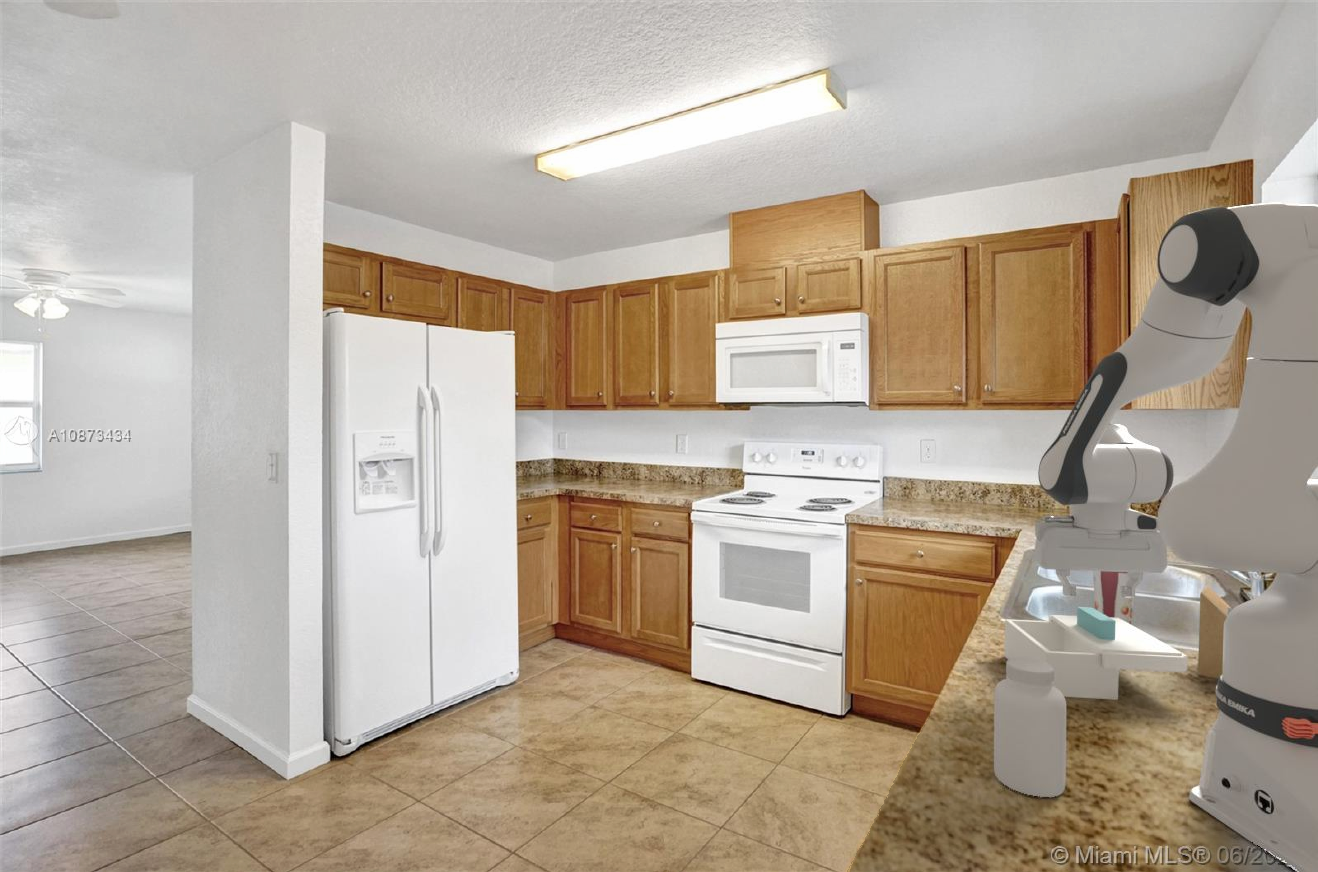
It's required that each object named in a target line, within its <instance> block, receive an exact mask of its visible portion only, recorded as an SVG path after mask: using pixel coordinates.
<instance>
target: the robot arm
mask: <svg viewBox="0 0 1318 872" xmlns="http://www.w3.org/2000/svg"><path fill="white" fill-rule="evenodd" d="M1156 264H1157V270H1158V275H1159V276H1158V278H1157V280H1156V282H1155V284H1154V286H1153V288H1152V290H1151V292H1150V293H1149V296H1148V298H1147V301H1146V303H1145V305H1144V308H1143V310H1142V313H1141V317H1140V318H1139V321H1138V323H1137V325H1136V327H1135V328H1134V330H1133V332H1132V333H1131V334H1130V335H1129V337H1128V338H1127V339H1126V340H1125V342H1123V343H1122V345H1120V346H1119V347H1118V348H1117V349H1116V350H1115V351H1113V352H1111V353H1110V354H1108V355H1107V356H1104V357H1103V358H1102V359H1101V360H1100V361H1099V363H1098V364H1097V365H1096V367H1095V368H1094V369H1093V372H1092V373H1091V374H1090V376H1089V378H1088V379H1087V382H1086V383H1085V385H1084V387H1083V389H1082V391H1081V393H1080V394H1079V396H1078V398H1077V400H1076V401H1075V404H1074V406H1072V407H1073V408H1072V409H1071V411H1070V413H1069V415H1068V417H1067V419H1066V420H1065V423H1064V424H1063V426H1062V428H1061V430H1060V431H1059V433H1058V435H1057V437H1056V438H1055V440H1053V442H1052V443H1051V445H1050V446H1049V447H1048V448H1047V450H1046V451H1045V452H1044V454H1043V455H1042V457H1041V459H1040V462H1039V465H1038V472H1037V473H1038V474H1037V475H1038V476H1037V477H1038V482H1039V485H1040V487H1041V488H1042V490H1043V491H1044V492H1045V493H1046V494H1047V495H1048V496H1050V498H1052V499H1053V500H1054V501H1055V502H1057V503H1059V504H1061V505H1062V506H1064V505H1065V506H1067V505H1069V515H1060V516H1053V515H1044V516H1043V517H1042V518H1040V519H1038V520H1037V521H1036V523H1035V525H1034V526H1035V527H1034V534H1035V537H1036V538H1035V544H1034V546H1035V547H1034V553H1033V561H1034V562H1035V564H1036V566H1038V567H1040V568H1041V569H1043V570H1055V575H1056V576H1057V578H1058V580H1059V581H1060V583H1061V584H1062V594H1063V595H1064V596H1067V597H1071V596H1072V597H1075V596H1077V592H1076V591H1077V586H1076V585H1075V584H1072V583H1070V580H1069V579H1068V578H1067V577H1070V575H1071V574H1070V573H1071V571H1085V572H1087V571H1088V572H1093V571H1111V572H1127V576H1129V577H1130V579H1129V581H1128V582H1127V584H1126V586H1121V596H1122V597H1124V598H1133V599H1135V598H1136V589H1137V588H1138V586H1139V585H1140V584H1141V583H1142V581H1143V579H1144V573H1145V574H1146V573H1147V574H1150V573H1151V574H1162V573H1163V572H1165V570H1166V569H1167V567H1168V550H1170V552H1171V553H1172V554H1173V555H1174V556H1176V558H1178V559H1179V560H1181V561H1183V562H1187V563H1191V564H1195V565H1199V566H1202V567H1208V568H1213V569H1219V570H1221V571H1222V570H1223V571H1228V572H1246V573H1247V572H1248V573H1249V572H1252V573H1275V574H1276V575H1275V577H1274V579H1273V581H1272V582H1271V584H1270V585H1269V586H1268V587H1267V588H1266V590H1264V591H1263V592H1262V593H1261V594H1260V595H1258V596H1256V597H1255V598H1252V599H1250V600H1247V601H1245V602H1242V603H1240V604H1238V605H1236V606H1235V607H1233V608H1232V610H1231V612H1230V613H1229V614H1228V616H1227V618H1226V620H1225V622H1224V639H1223V673H1222V675H1220V676H1219V677H1218V679H1217V685H1216V686H1215V695H1216V703H1215V704H1216V706H1217V709H1218V710H1219V713H1218V716H1217V717H1216V720H1215V721H1214V723H1213V725H1212V726H1211V728H1210V729H1209V730H1208V731H1207V734H1206V736H1205V737H1206V739H1205V743H1204V750H1203V757H1202V764H1201V771H1200V779H1199V784H1198V785H1195V786H1193V788H1192V787H1191V789H1190V791H1189V797H1188V798H1189V800H1190V801H1191V802H1192V803H1193V804H1195V805H1196V806H1198V807H1199V808H1201V809H1202V810H1204V811H1205V812H1207V813H1209V814H1210V815H1211V816H1213V817H1215V819H1217V820H1219V821H1220V822H1221V823H1223V824H1224V825H1226V826H1227V827H1229V828H1230V829H1232V830H1233V831H1235V832H1236V833H1238V834H1239V835H1240V836H1242V837H1244V838H1245V839H1246V840H1248V841H1249V842H1251V843H1252V842H1253V843H1252V844H1254V845H1255V846H1257V845H1258V846H1260V847H1262V848H1263V849H1266V850H1267V851H1270V852H1271V853H1272V854H1273V855H1275V856H1277V857H1279V858H1281V859H1282V860H1285V862H1287V863H1288V864H1289V865H1292V866H1293V867H1295V869H1297V871H1299V872H1318V479H1317V478H1316V479H1314V478H1312V479H1311V477H1312V475H1313V474H1314V472H1316V470H1317V469H1318V204H1298V203H1295V204H1294V203H1292V204H1290V203H1289V204H1287V203H1284V202H1283V203H1282V202H1269V203H1259V204H1258V203H1257V204H1255V203H1254V204H1247V205H1239V206H1232V207H1224V206H1216V207H1209V208H1204V209H1200V210H1195V211H1194V212H1189V213H1187V214H1185V215H1182V216H1181V217H1180V218H1178V219H1176V221H1174V223H1172V225H1171V226H1170V227H1169V229H1168V230H1167V231H1166V233H1165V234H1164V236H1163V237H1162V240H1161V242H1160V244H1159V247H1158V252H1157V263H1156ZM1246 309H1248V310H1249V312H1250V314H1251V321H1252V324H1251V325H1252V327H1251V334H1250V337H1249V343H1248V348H1247V349H1248V350H1247V358H1246V363H1245V364H1246V365H1245V373H1244V379H1243V383H1242V384H1243V386H1242V391H1241V396H1240V401H1239V407H1238V410H1237V411H1238V412H1237V415H1236V419H1235V422H1234V424H1233V426H1232V429H1231V432H1230V433H1229V435H1228V437H1227V438H1226V440H1225V442H1224V443H1223V445H1222V446H1221V448H1220V449H1219V451H1218V452H1217V453H1216V454H1215V455H1214V457H1212V459H1211V460H1210V461H1209V462H1207V464H1206V465H1205V466H1204V467H1202V468H1201V469H1200V470H1198V472H1195V474H1194V475H1192V476H1191V477H1189V478H1187V479H1185V480H1184V481H1182V482H1179V483H1178V484H1176V485H1174V486H1173V484H1174V475H1175V474H1174V465H1173V463H1172V461H1171V459H1170V457H1169V456H1168V455H1167V454H1166V453H1165V452H1164V451H1163V450H1162V449H1161V448H1160V447H1157V446H1155V445H1149V444H1147V443H1144V442H1142V441H1140V440H1138V439H1137V438H1134V437H1133V436H1132V435H1131V434H1130V432H1129V429H1128V428H1127V427H1126V426H1124V425H1122V424H1119V423H1112V422H1111V421H1112V419H1113V418H1114V417H1115V415H1116V414H1117V413H1118V412H1119V410H1121V409H1122V408H1123V407H1125V406H1126V405H1128V404H1130V403H1131V402H1133V401H1136V400H1138V399H1140V398H1143V397H1146V396H1149V395H1152V394H1156V393H1157V392H1161V391H1165V390H1170V389H1173V388H1178V387H1182V386H1185V385H1188V384H1191V383H1192V384H1193V383H1194V382H1196V381H1198V380H1200V379H1202V378H1204V377H1206V376H1208V375H1209V374H1210V373H1213V372H1214V370H1215V369H1217V367H1218V366H1220V364H1221V363H1222V362H1223V360H1224V359H1225V358H1226V356H1227V354H1228V352H1229V350H1230V348H1231V346H1232V344H1233V342H1234V340H1235V336H1236V334H1237V332H1238V329H1239V326H1240V325H1241V322H1242V320H1243V317H1244V314H1245V311H1246ZM1172 486H1173V487H1172ZM1161 499H1162V500H1161ZM1160 500H1161V502H1160V504H1159V508H1158V511H1157V517H1156V516H1154V515H1150V514H1147V513H1144V512H1142V511H1140V510H1136V509H1135V510H1134V509H1132V508H1131V504H1148V503H1153V502H1154V503H1156V502H1158V501H1160ZM1258 846H1257V847H1258ZM1260 847H1259V848H1260ZM1263 849H1262V850H1263Z"/></svg>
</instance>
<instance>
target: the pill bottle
mask: <svg viewBox="0 0 1318 872" xmlns="http://www.w3.org/2000/svg"><path fill="white" fill-rule="evenodd" d="M1005 664H1006V665H1005V673H1006V674H1005V677H1006V678H1005V679H1002V680H1000V681H999V682H997V684H996V686H995V688H994V694H993V696H994V698H993V705H994V706H993V709H994V710H993V713H994V714H993V771H994V775H995V777H996V779H997V778H998V779H997V780H998V781H999V782H1000V781H1001V782H1002V783H1003V784H1004V786H1005V785H1006V786H1008V787H1009V788H1008V787H1007V788H1008V789H1010V788H1011V789H1010V790H1012V789H1013V790H1012V791H1014V790H1017V791H1019V792H1022V793H1024V794H1023V795H1025V794H1027V795H1026V796H1029V795H1033V796H1032V797H1034V796H1038V797H1037V798H1042V797H1049V798H1055V796H1056V797H1057V796H1060V795H1062V794H1063V793H1064V792H1065V789H1066V781H1067V779H1066V776H1067V775H1066V774H1067V773H1066V772H1067V764H1066V763H1067V701H1066V698H1065V697H1064V696H1063V694H1062V693H1061V692H1060V691H1059V690H1058V689H1057V688H1055V687H1054V668H1053V667H1052V666H1051V665H1049V664H1048V663H1045V662H1042V661H1039V660H1035V659H1029V658H1012V659H1009V660H1008V659H1007V660H1006V663H1005ZM1001 782H1000V783H1001ZM1002 783H1001V784H1002ZM1003 784H1002V785H1003ZM1006 786H1005V787H1006ZM1019 792H1018V793H1019ZM1022 793H1021V794H1022ZM1039 796H1040V797H1039Z"/></svg>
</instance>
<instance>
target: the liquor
mask: <svg viewBox="0 0 1318 872" xmlns="http://www.w3.org/2000/svg"><path fill="white" fill-rule="evenodd" d="M1092 574H1093V576H1092V577H1093V594H1094V597H1093V599H1094V609H1095V610H1097V611H1099V612H1101V613H1102V614H1104V615H1106V616H1108V617H1113V618H1119V619H1121V620H1123V621H1125V622H1127V623H1129V624H1131V625H1132V621H1133V607H1134V598H1124V597H1122V596H1121V586H1126V584H1127V582H1128V581H1129V579H1130V577H1129V576H1127V572H1111V571H1092Z"/></svg>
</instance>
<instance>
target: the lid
mask: <svg viewBox="0 0 1318 872" xmlns="http://www.w3.org/2000/svg"><path fill="white" fill-rule="evenodd" d="M1048 621H1054V622H1056V623H1057V624H1059V625H1060V626H1062V627H1063V628H1065V629H1066V630H1067V631H1069V632H1070V633H1072V634H1073V635H1075V636H1076V637H1078V638H1079V639H1081V640H1082V641H1083V642H1085V643H1086V644H1088V645H1089V646H1091V647H1092V648H1094V649H1095V650H1097V651H1098V652H1100V653H1101V654H1102V667H1103V668H1108V669H1119V670H1131V671H1133V670H1134V671H1149V672H1150V671H1151V672H1167V673H1168V672H1169V673H1170V672H1171V673H1185V672H1187V671H1188V655H1187V654H1185V653H1183V652H1181V651H1179V650H1178V649H1175V648H1174V647H1173V646H1170V645H1168V644H1167V643H1165V642H1164V641H1161V640H1159V639H1157V638H1156V637H1154V636H1152V635H1150V634H1149V633H1147V632H1145V631H1143V630H1141V629H1140V628H1138V627H1136V626H1134V625H1132V624H1129V623H1127V622H1125V621H1123V620H1121V619H1119V618H1113V617H1108V616H1106V615H1104V614H1102V613H1101V612H1099V611H1097V610H1095V607H1094V608H1093V607H1091V606H1089V607H1088V606H1077V613H1076V615H1064V614H1063V615H1061V614H1050V615H1048Z"/></svg>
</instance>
